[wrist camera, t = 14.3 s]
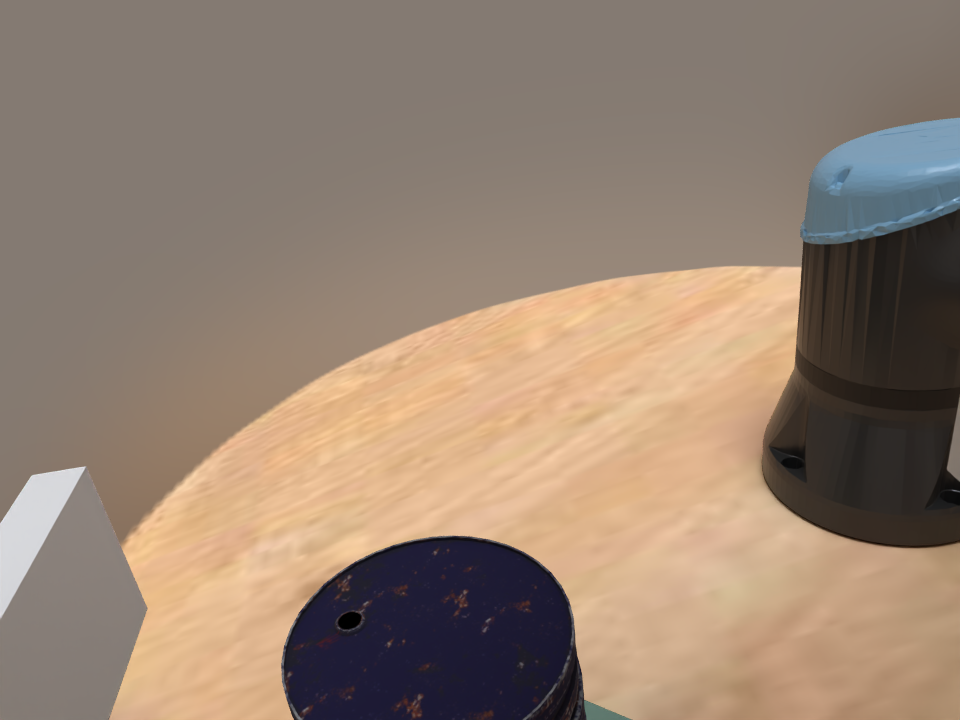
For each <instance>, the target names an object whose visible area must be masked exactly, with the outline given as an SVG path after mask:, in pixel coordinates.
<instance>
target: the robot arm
mask: <svg viewBox="0 0 960 720" xmlns="http://www.w3.org/2000/svg"><path fill="white" fill-rule="evenodd" d="M800 235H801V236H800V237H801V238H802V239H803V256H802V271H801V287H800V303H799V315H798V327H797V344H796V357H795V367H794V370H793V372H792V374H791V376H790V379H789V381H788V383H787V385H786V387H785V389H784V391H783V393H782V396H781V398H780V400H779V402H778V404H777V406H776V408H775V410H774V413H773V415H772V417H771V419H770V421H769V423H768V425H767V428H766V431H765V434H764V439H763V455H762V469H763V474H764V477H765V480H766V482H767V484H768V485H769V487H770V488H771V490H772V491H773V492H774V494H775V495H776V496H777V497H778V498H779V499H780V500H781V501H782V502H783V503H784V504H785V505H787V506H788V507H789V508H790V509H792V510H793V511H795V512H796V513H798V514H799V515H801V516H802V517H804V518H806V519H808V520H810V521H811V522H813V523H816V524H818V525H820V526H822V527H824V528H827V529H829V530H832V531H835V532H837V533H840V534H843V535H847V536H850V537H854V538H858V539H862V540H866V541H872V542H877V543H884V544H893V545H914V546H918V545H935V544H943V543H949V542H954V541H958V540H960V118H953V119H944V120H935V121H928V122H922V123H916V124H910V125H905V126H899V127H895V128H890V129H886V130H882V131H878V132H875V133H871V134H868V135H865V136H862V137H859V138H857V139H854V140H851V141H849V142H847V143H845V144H842V145H840V146H839V147H837V148H835V149H834V150H832V151H831V152H829V153H828V154H827V155H825V156H824V157H823V158H822V159H821V160H820V162H819V163H818V164H817V166H816V167H815V169H814V171H813V173H812V175H811V179H810V183H809V191H808V199H807V206H806V213H805V220H804V222H803V223H802V225H801V229H800ZM146 611H147V606H146V604H145V602H144V599H143V597H142V595H141V592H140V590H139V588H138V585H137V583H136V581H135V578H134V576H133V574H132V571H131V569H130V567H129V564H128V562H127V560H126V557H125V555H124V553H123V551H122V548H121V546H120V544H119V541H118V539H117V537H116V534H115V532H114V530H113V527H112V525H111V523H110V521H109V518H108V516H107V513H106V511H105V509H104V506H103V504H102V502H101V499H100V497H99V495H98V493H97V490H96V488H95V486H94V483H93V481H92V479H91V476H90V474H89V472H88V469H87V467H86V466H85V467H79V468H73V469H67V470H61V471H55V472H49V473H43V474H37V475H32V476H31V478H30V479H29V480H28V482H27V484H26V485H25V487H24V488H23V490H22V491H21V493H20V494H19V496H18V497H17V499H16V501H15V502H14V503H13V505H12V507H11V508H10V510H9V511H8V513H7V514H6V516H5V517H4V519H3V521H2V522H1V523H0V720H109V717H110V715H111V712H112V709H113V706H114V703H115V700H116V697H117V695H118V692H119V689H120V686H121V683H122V680H123V677H124V674H125V672H126V669H127V666H128V663H129V660H130V657H131V654H132V651H133V649H134V646H135V643H136V640H137V637H138V634H139V631H140V628H141V626H142V623H143V620H144V617H145V614H146Z"/></svg>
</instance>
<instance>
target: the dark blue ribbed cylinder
mask: <svg viewBox="0 0 960 720" xmlns="http://www.w3.org/2000/svg"><path fill="white" fill-rule="evenodd" d="M281 668H282V683H283V687H284V691H285V694H286V698H287V701H288V704H289V707H290V711H291V714H292V716H293V718H294V720H587V717H586V712H585V706H584V692H583V680H582V672H581V668H580V664H579V661H578V657H577V651H576V644H575V629H574V618H573V614H572V610H571V606H570V603H569V600H568V598H567V596H566V594H565V592H564V590H563V588H562V586H561V585H560V583H559V582H558V581H557V579H556V578H555V577H554V576H553V574H552V573H551V572H550V571H549V570H548V569H547V568H545V567H544V566H543V565H542V564H541V563H540V562H539V561H537V560H536V559H534V558H532V557H531V556H529V555H528V554H526V553H524V552H522V551H520V550H518V549H516V548H513V547H511V546H509V545H506V544H503V543H499V542H496V541H492V540H488V539H482V538H476V537H467V536H439V537H429V538H422V539H416V540H411V541H407V542H404V543H400V544H396V545H393V546H390V547H387V548H385V549H382V550H379V551H376V552H374V553H372V554H370V555H368V556H366V557H364V558H362V559H360V560H358V561H356V562H354V563H353V564H351V565H350V566H348V567H346V568H345V569H343V570H342V571H340V572H339V573H338V574H336V575H335V576H334V577H332V578H331V579H330V580H329V581H327V582H326V583H325V584H324V585H323V586H322V587H321V588H320V589H319V590H318V591H317V592H316V593H315V594H314V595H313V596H312V597H311V598H310V599H309V601H308V602H307V603H306V605H305V606H304V607H303V609H302V610H301V611H300V613H299V614H298V616H297V618H296V620H295V622H294V623H293V625H292V627H291V629H290V631H289V634H288V637H287V640H286V643H285V645H284V651H283V657H282V663H281Z"/></svg>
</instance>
